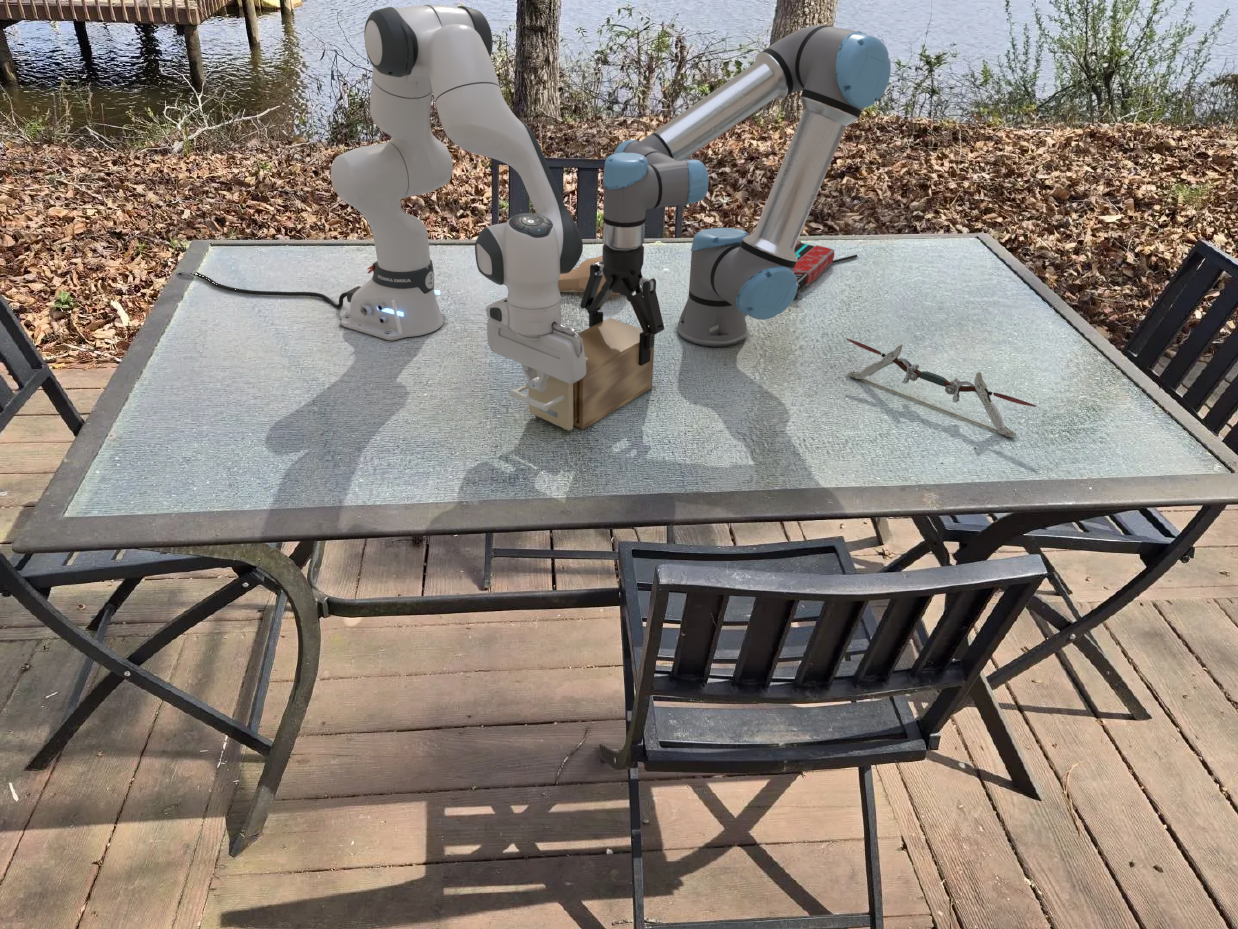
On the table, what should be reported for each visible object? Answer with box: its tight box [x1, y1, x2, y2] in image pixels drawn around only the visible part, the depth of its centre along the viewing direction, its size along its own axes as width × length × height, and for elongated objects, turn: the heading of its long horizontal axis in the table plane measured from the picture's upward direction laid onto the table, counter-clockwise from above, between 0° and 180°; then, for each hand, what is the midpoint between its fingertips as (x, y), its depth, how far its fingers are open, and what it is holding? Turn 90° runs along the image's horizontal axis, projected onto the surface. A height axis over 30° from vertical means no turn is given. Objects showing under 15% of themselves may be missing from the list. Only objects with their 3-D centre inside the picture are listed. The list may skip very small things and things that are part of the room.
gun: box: [793, 239, 835, 300], centre depth 224 cm, size 4×31×19 cm
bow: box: [845, 337, 1037, 438], centre depth 168 cm, size 39×2×10 cm, turn 47°
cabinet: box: [573, 317, 656, 430], centre depth 166 cm, size 21×11×12 cm, turn 141°
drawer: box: [508, 370, 579, 431], centre depth 162 cm, size 25×10×10 cm, turn 141°
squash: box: [558, 255, 619, 299], centre depth 210 cm, size 11×20×9 cm, turn 90°
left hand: (537, 388), depth 153 cm, fingers closed
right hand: (620, 353), depth 170 cm, fingers closed on cabinet, 11 cm apart
